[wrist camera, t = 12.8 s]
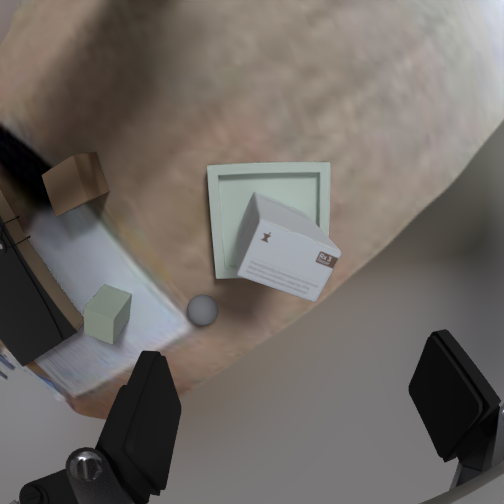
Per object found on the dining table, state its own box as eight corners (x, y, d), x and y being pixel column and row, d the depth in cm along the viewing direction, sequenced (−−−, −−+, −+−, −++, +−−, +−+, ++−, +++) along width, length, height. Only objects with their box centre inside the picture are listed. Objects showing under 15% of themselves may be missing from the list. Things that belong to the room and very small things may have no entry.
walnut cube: (66, 169, 28) (41, 175, 24) (96, 151, 28) (72, 154, 23) (79, 206, 30) (56, 217, 25) (109, 191, 30) (88, 200, 25)
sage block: (104, 284, 34) (83, 307, 28) (132, 293, 34) (113, 319, 28) (103, 308, 35) (84, 333, 29) (129, 318, 35) (112, 345, 30)
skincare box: (238, 227, 30) (229, 279, 19) (254, 187, 28) (255, 216, 17) (292, 248, 31) (313, 309, 19) (310, 210, 29) (344, 252, 18)
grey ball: (188, 289, 34) (181, 305, 30) (218, 288, 34) (214, 304, 30) (192, 314, 35) (186, 331, 32) (220, 314, 35) (217, 331, 32)
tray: (209, 164, 29) (207, 165, 27) (325, 161, 28) (330, 162, 27) (218, 271, 33) (216, 278, 31) (322, 267, 33) (326, 274, 31)
